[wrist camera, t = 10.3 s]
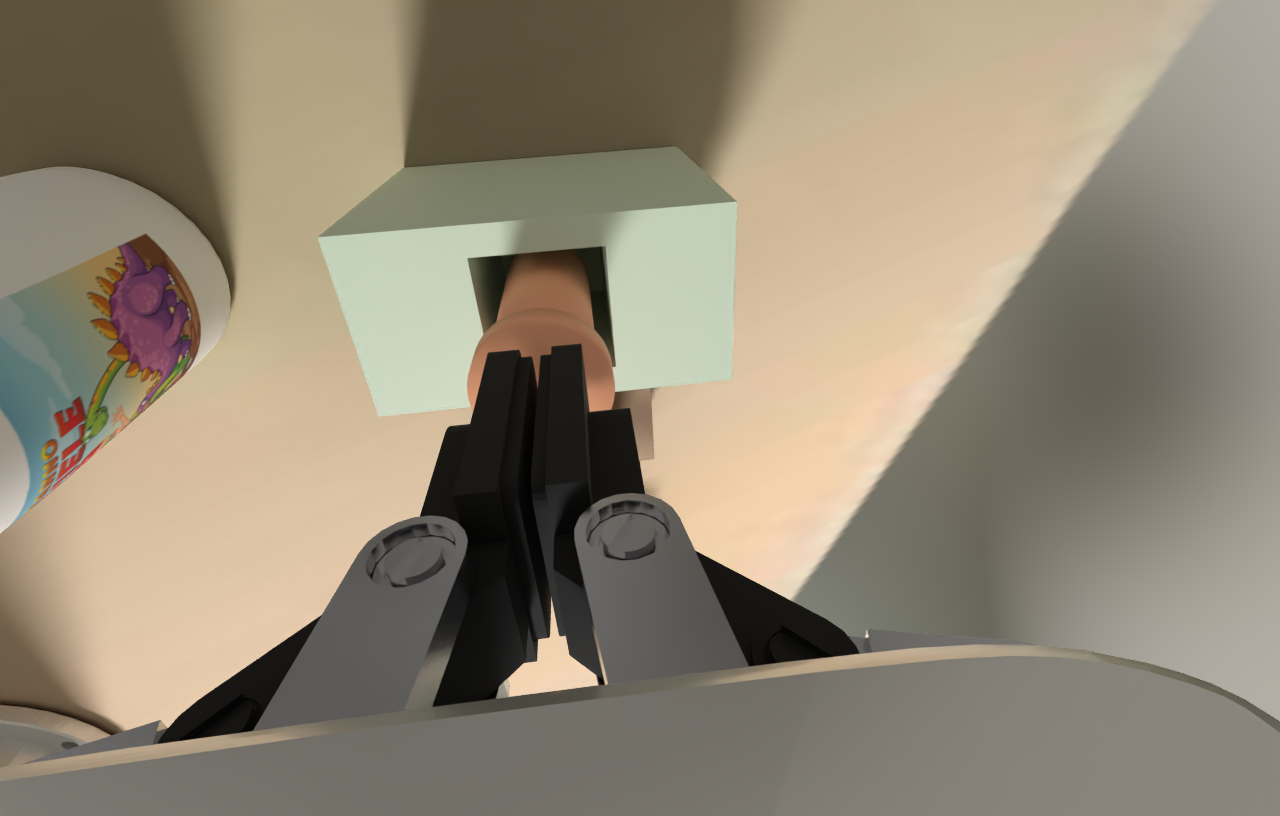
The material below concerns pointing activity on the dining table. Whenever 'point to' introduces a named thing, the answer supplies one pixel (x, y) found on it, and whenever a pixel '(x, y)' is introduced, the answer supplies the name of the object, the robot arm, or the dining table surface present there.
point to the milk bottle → (92, 318)
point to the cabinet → (535, 222)
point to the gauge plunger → (547, 321)
